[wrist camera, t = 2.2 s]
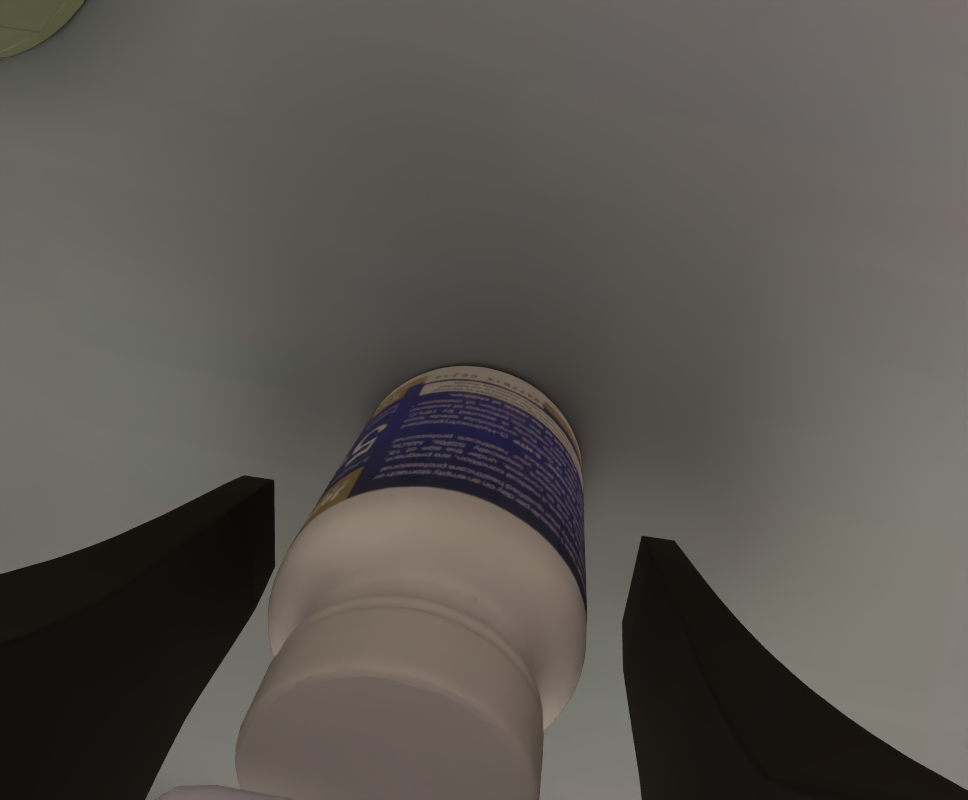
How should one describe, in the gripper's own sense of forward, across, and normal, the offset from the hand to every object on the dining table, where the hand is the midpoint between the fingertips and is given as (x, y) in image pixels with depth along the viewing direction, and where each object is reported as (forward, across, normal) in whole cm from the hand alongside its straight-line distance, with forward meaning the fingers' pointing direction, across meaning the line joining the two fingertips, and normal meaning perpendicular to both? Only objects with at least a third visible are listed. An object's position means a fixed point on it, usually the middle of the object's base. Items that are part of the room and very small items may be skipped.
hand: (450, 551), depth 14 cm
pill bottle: (+4, 0, 0) cm, 4 cm away
